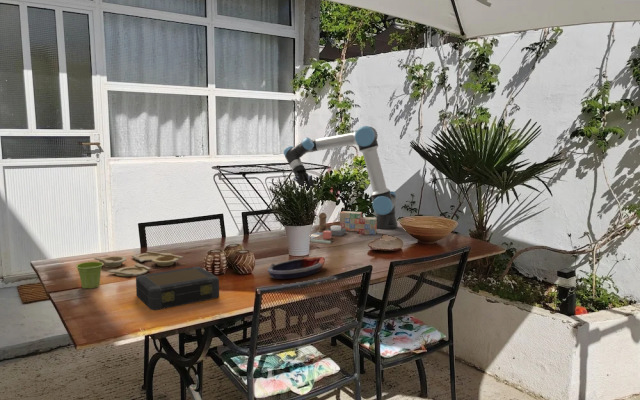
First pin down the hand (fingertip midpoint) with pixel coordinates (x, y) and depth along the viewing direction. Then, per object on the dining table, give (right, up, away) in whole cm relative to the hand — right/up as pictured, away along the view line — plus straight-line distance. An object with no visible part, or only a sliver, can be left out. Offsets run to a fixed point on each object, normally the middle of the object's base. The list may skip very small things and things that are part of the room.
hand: (314, 198), depth 295 cm
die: (+7, -22, -21) cm, 31 cm away
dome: (+13, -20, -10) cm, 25 cm away
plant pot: (-85, -35, -104) cm, 139 cm away
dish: (-6, -33, -83) cm, 89 cm away
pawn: (+5, -20, -4) cm, 21 cm away
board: (+6, -23, -14) cm, 27 cm away
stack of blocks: (+26, -21, +2) cm, 34 cm away
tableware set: (-77, -31, -72) cm, 110 cm away
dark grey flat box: (-49, -37, -114) cm, 129 cm away
